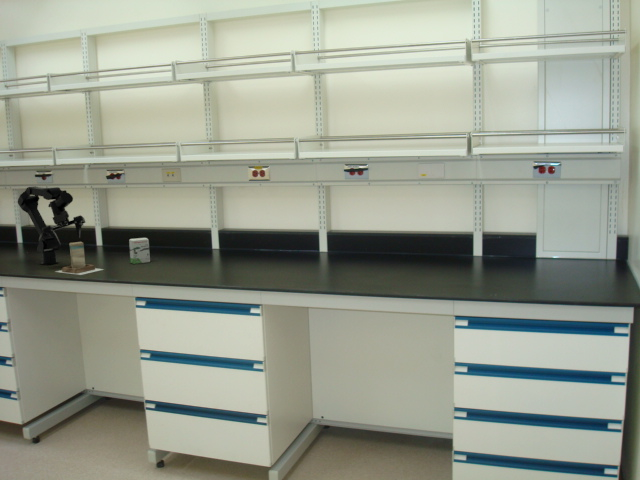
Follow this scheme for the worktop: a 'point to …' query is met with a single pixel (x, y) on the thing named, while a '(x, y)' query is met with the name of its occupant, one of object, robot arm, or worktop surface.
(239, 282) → the worktop surface
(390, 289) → the worktop surface
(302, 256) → the worktop surface
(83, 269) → the brown wooden tray
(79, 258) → the tan box
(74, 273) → the mat
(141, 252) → the ink box
